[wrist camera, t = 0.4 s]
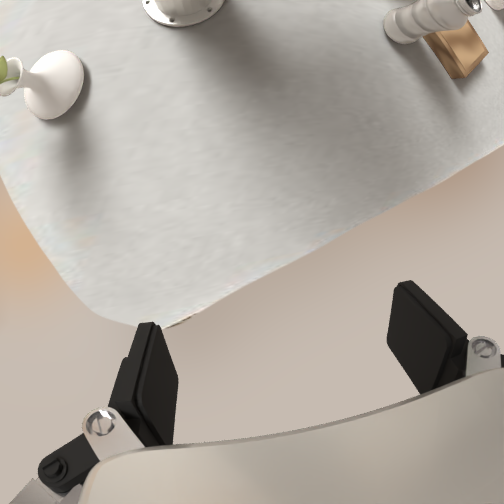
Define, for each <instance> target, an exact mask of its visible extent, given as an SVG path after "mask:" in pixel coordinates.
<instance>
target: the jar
mask: <svg viewBox="0 0 504 504" xmlns="http://www.w3.org/2000/svg"><path fill="white" fill-rule="evenodd" d="M485 1H486V2H487V4H488V5H489V6H490V7H492V8H493V9H495V10H501V9H502V8H503V9H504V0H485Z"/></svg>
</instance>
